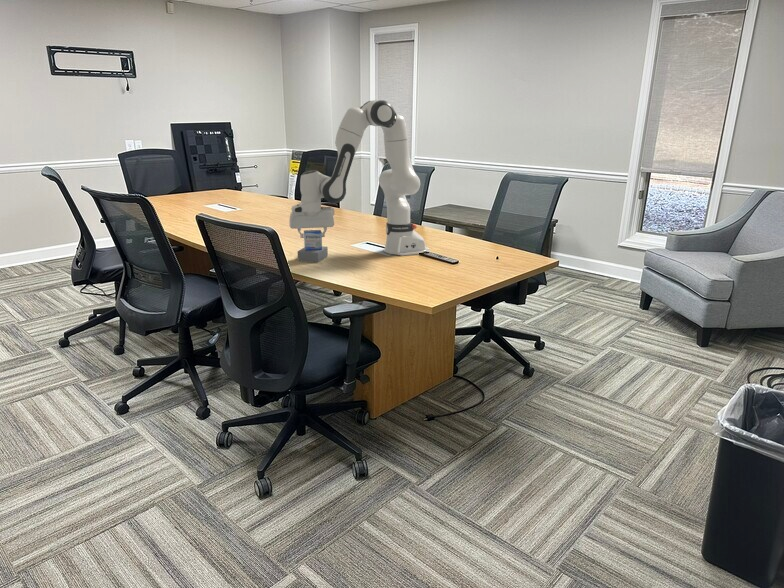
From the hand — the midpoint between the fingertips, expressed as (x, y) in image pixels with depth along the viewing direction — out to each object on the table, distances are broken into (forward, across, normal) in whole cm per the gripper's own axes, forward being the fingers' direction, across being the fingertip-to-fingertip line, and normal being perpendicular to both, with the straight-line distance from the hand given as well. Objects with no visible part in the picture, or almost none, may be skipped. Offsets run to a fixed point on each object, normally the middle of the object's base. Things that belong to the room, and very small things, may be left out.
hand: (312, 237), depth 250 cm
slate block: (+10, 0, 0) cm, 11 cm away
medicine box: (+6, 0, 0) cm, 6 cm away
